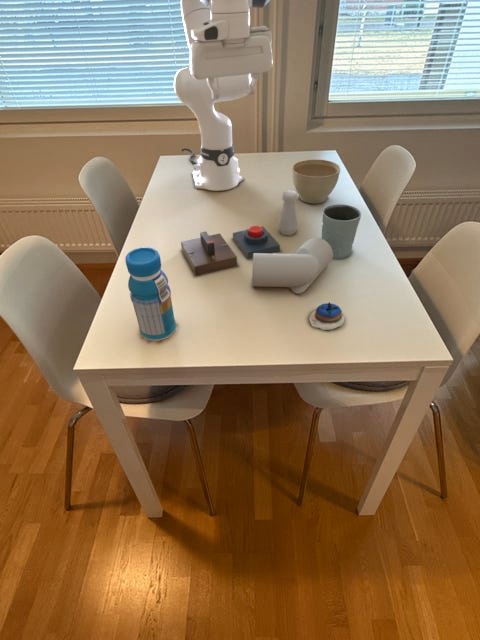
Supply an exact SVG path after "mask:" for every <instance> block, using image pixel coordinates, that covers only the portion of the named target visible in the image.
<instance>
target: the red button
mask: <svg viewBox="0 0 480 640" xmlns="http://www.w3.org/2000/svg"><path fill="white" fill-rule="evenodd" d="M248 229H249V236H251V237H261V236H262V235H263V228H262V226H259V225H252V226H250V227H249V228H248Z"/></svg>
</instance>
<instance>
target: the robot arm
mask: <svg viewBox="0 0 480 640" xmlns="http://www.w3.org/2000/svg"><path fill="white" fill-rule="evenodd" d="M269 2H270V0H180V11H181V17H182V23H183V27H184V32H185V33H184V34H185V38H186V42H187V46H188V49H189V66H186V67H183V68H180V69H178V70H177V72H176V73H175V76H174V81H173V89H174V93H175V95H176V98H178V100H179V101H180V102H181V103H182V104H183V105H185V106H186V107H188V108H189V109H190V111H191V112H192V113H193V115H194V117H195V118H196V120H197V123H198V129H199V133H200V141H201V142H200V143H201V145H200V156H199V157H198V158H197V160H196V161H194V160H193V158H194V157H195V152H194V151H193V150H192V149H190V148H188V147H183V148H182V149H181V152H184V151H187V152H189V153H190V154H191V155H190V156H189V161H190V163H192V164H193V171H192V178H193V182H194V187H195V188H196V189H203V190H208V191H213V192H215V191H216V192H220V191H227V190H231V189H233V188H235V187H237V186H238V184H239V183H240V182H242V181H243V176H242V175H241V174H240V171H241V169H240V168H239V159H238V158H237V157H236V156H235V145H234V143H233V125H232V121H231V119H230V118H229V117H228V116H227V115H225V114H223V113H222V112H220V111H217V110H216V109H215V104H216V103H223V102H224V103H225V102H233V101H236V100H239V99H242V98H245V97H246V96H248V95H255V93H256V91H255V88H256V85H257V83H258V81H259V80H260V74H261V73H270V72H271V71H272V69H273V62H274V61H273V48H272V44H273V31H271V29H270V28H269V27H267V26H266V25H260V26H256V25H254V26H253V25H252V26H251V15H250V14H251V8H258V9H259V8H263V9H264V7H266V5H267V4H268V3H269Z"/></svg>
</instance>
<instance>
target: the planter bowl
mask: <svg viewBox="0 0 480 640" xmlns="http://www.w3.org/2000/svg"><path fill="white" fill-rule="evenodd" d="M341 169H342V168H341V166H340V165H339V164H338V163H336V162H334V161H331V160H327V159H317V158H315V159H313V158H312V159H303V160H300V161H297V162H295V163H294V164H293V165H292V167H291V172H292V182H293V186H294V189H295V191H296V193H297V195H299V199H300V200H301V201H302V202H305V203H308V204H321V203H324V202H326V201H327V200H328V197H329V196H330V195H331V193H332V192H333V191H334V190H335V188H336V186H337V183H338V181H339V177H340V173H341Z"/></svg>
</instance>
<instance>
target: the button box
mask: <svg viewBox="0 0 480 640" xmlns="http://www.w3.org/2000/svg"><path fill="white" fill-rule="evenodd" d="M261 227H262V228H263V235H262V236H261V237H251V236H249V228H247V229H244V230H240V231H239V230H238V231H235V232H232V240H233V241H234V243H235V244H236V245H237V247H238V248H239V250H240V251H241V252H242V253H243V254H244V256H245V257H246V259H247V260H250V259H253V254H254V253H272V254H276V253H279V252H280V251H281V244H280V243H279V242H278V241H277V240H276V239H275V238H274V237H273V236H272V234H271V233H270V232H269V231H268V230H267V229H266V227H264V226H261Z"/></svg>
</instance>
